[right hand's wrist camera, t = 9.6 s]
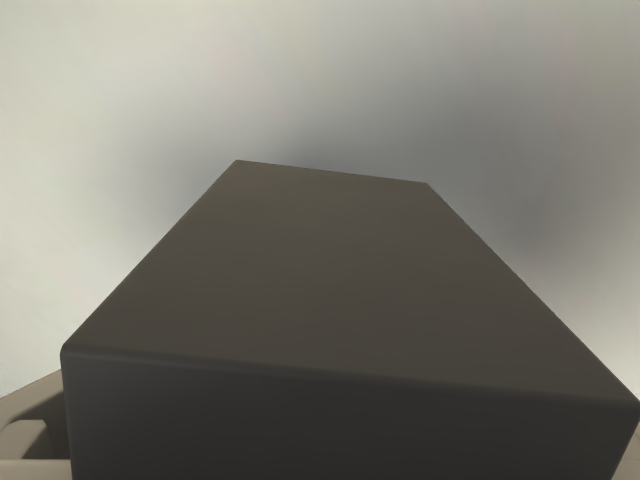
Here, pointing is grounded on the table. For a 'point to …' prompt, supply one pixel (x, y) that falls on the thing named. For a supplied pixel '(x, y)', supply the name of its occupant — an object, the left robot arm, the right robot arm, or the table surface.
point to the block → (333, 348)
